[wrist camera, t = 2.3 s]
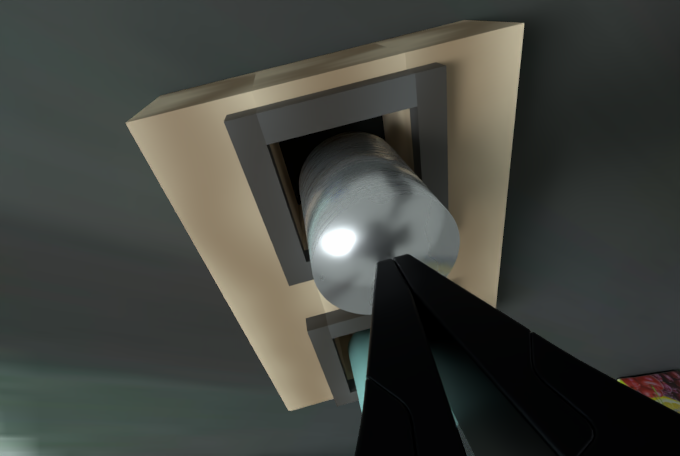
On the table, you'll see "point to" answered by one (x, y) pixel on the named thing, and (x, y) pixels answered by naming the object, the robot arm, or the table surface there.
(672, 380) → the snack box
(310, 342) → the oak block
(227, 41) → the table surface
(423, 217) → the peg grey
